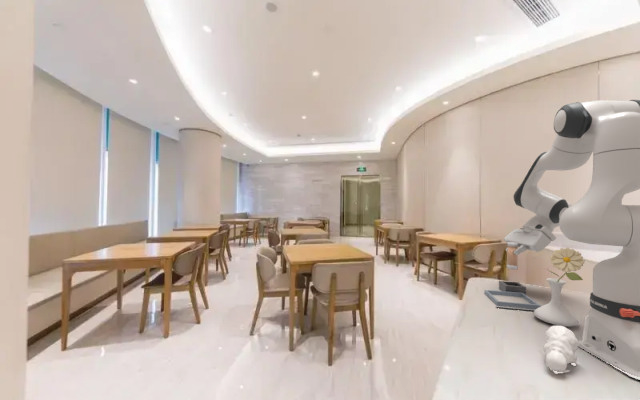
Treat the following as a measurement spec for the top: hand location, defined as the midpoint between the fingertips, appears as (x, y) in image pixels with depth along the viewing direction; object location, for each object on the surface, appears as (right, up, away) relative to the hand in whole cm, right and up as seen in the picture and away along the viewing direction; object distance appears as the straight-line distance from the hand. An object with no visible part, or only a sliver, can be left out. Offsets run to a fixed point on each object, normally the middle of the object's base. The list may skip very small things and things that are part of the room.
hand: (510, 252), depth 118 cm
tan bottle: (+1, -7, 0) cm, 7 cm away
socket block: (+1, -18, 0) cm, 18 cm away
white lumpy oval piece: (-24, -18, -51) cm, 59 cm away
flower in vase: (-3, -18, -27) cm, 33 cm away
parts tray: (-7, -18, -10) cm, 22 cm away
